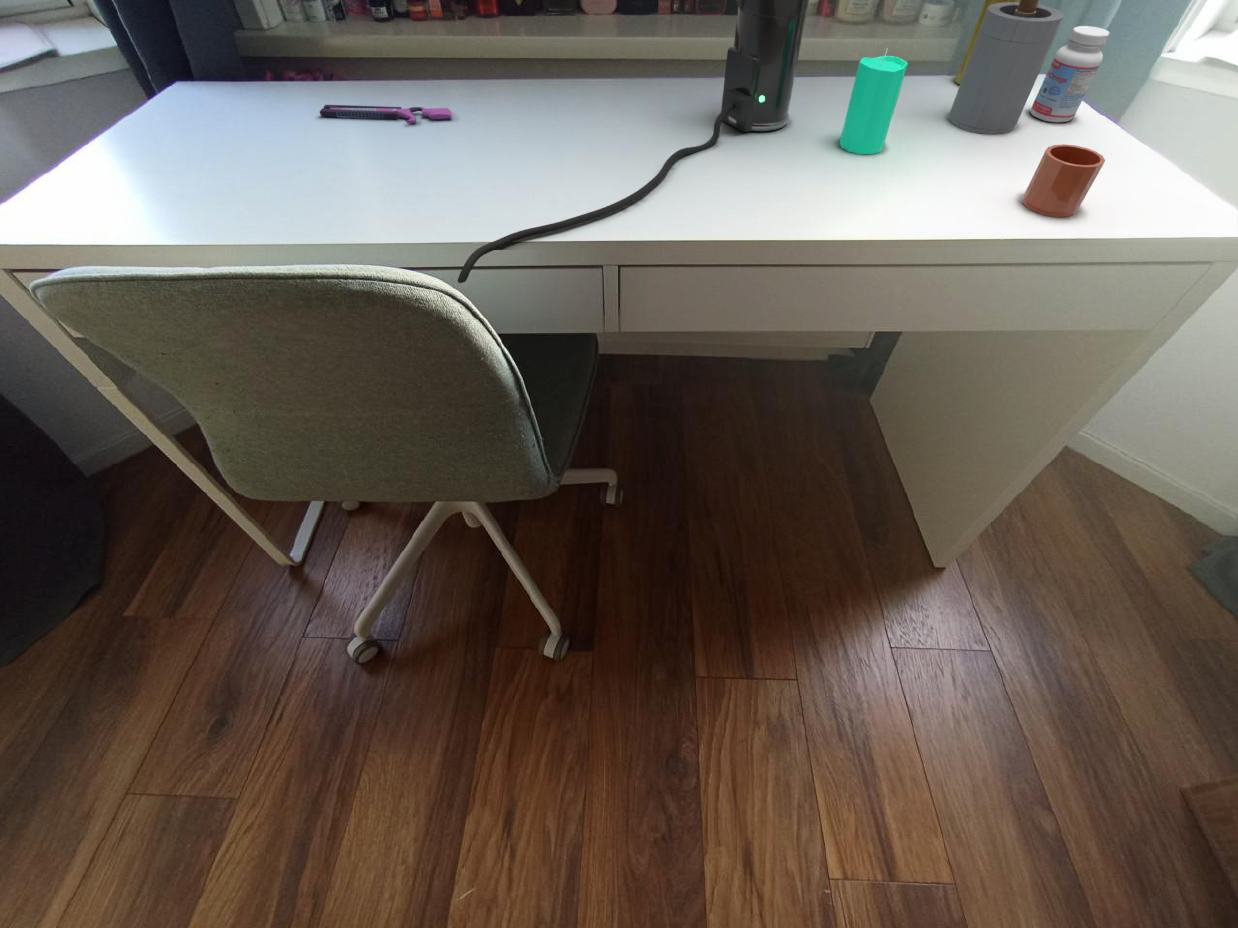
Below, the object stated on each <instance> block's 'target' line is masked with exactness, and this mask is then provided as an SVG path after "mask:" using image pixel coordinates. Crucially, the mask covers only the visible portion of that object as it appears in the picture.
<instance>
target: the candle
mask: <svg viewBox="0 0 1238 928" xmlns="http://www.w3.org/2000/svg"><path fill="white" fill-rule="evenodd" d="M885 49H886V50H885V53H884V55H880V56H876V57H867V56H863V57H862V58H861V59H860V61H859V62H858V66H857V70H856V75H855V78H854V83H853V86H852V91H851V95H850V99H849V103H848V106H847V109H846V110H847V111H846V115H845V119H844V123H843V126H842V131H841V135H840V139H839V145H840V148H841V149H844V150H845V151H847V152H849V153H853V154H858V155H874V154H878V153H880V152H881V151H882V150H883V149H884V145H885V142H886V140H887V136H888V132H889V128H890V125H891V122H892V120H893V119H892V118H893V115H894V112H895V108H896V105H897V102H898V98H899V95H900V92H901V88H902V85H903V81H904V78H905V75H906V72H907V68H908V65H909V62H907V61H906V60H905V59H902V58H900V57H898V56H896V55H895V56H893V55H887V53H888V49H889V48H888V47H887V48H885Z"/></svg>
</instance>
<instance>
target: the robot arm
mask: <svg viewBox="0 0 1238 928" xmlns="http://www.w3.org/2000/svg"><path fill="white" fill-rule="evenodd" d="M809 2H810V0H738V7H737V13H736V14H737V16H736V24H735V33H734V40H733V41H734V42H733V46H729V47H728V48H727V53H726V63H725V71H724V81H723V89H722V98H721V99H722V100H721V108H720V112H719V114H717V115H718V116H717V117H716V119H715V120H714V125H713V133H712V136H711V138H710V139H709V140H708V141H706V142H705V143H702V144H701V145H697V146H689V147H684V148H681V149H678V150H677V151H675V152H674V153H673V154H671V155H670V156H669V157H668V158H667V159H666V160H665V162H664V164H663V165H662V167H661V168H660V170H659V171H658V173H657V174H656V175H655V176H654V177H653V178H652V179H651V180H649V181H648V182H646V184H645V185H643V186H641V188H640V189H638V190H635V192H633V193H631V194H630V195H628V196H626V197H624V198H622V199H620V200H618V201H616V202H614V203H611V204H609V205H606V206H603V207H601V208H599V209H595V210H592V211H589V212H586V213H582V214H580V215H577V216H574V217H573V216H572V217H570V218H567V219H564V220H561V221H557V222H551V223H548V224H544V225H540V226H535V227H530V228H526V229H522V230H519V231H516V232H513V233H511V234H510V233H509V234H507V235H505V236H502V237H500V238H498V239H496V240H493V241H491V242H489V243H486V244H484V245H481V246H479V248H477V249H475V250H474V251H473V252H472V253H471V254H470V255H469V256H468V258H467V259H466V261H465V263H464V265H463V266H462V268H461V270H460V272H459V275H458V278H457V283H458V284H463V283H465V282H466V281H467V280H468V278H469V275H470V273H471V271H472V269H473V268H474V266H475V264H476V263H477V261H478V260H480V259H481V257H483V256H485V255H487V254H489V253H491V252H493V251H496V250H498V249H500V248H502V247H505V246H507V245H509V244H511V243H514V242H517V241H520V240H523V239H527V238H531V237H535V236H539V235H544V234H548V233H552V232H557V231H560V230H564V229H567V228H570V227H574V226H577V225H580V224H583V223H586V222H590V221H593V220H595V219H599V218H601V217H604V216H607V215H609V214H612V213H614V212H616V211H619V210H620V209H623V208H624V207H627V206H628V205H630V204H632V203H634V202H636V201H637V200H639V199H641V197H643V196H645V195H646V194H647V193H648V192H649V191H652V189H653V188H654V187H655V186H656V185H658V184H659V183H660V182H661V181H662V180H663V179H664V177H665V176H666V175H667V173H668V172H669V170H670V168H671V167H672V165H673V164H674V163H675V162H676V161H677V160H678V159H679V158H681V157H684V156H687V155H693V154H697V153H700V152H702V151H706V150H708V149H710V148H712V147H713V146H714V145H715V144H716V142H717V141H718V140H719V137H720V133H721V132H720V131H721V125H722V123H723V122H725V123H727V124H728V125H730V126H732V127H734V128H735V129H737V130H739V131H741V132H743V133H747V132H770V131H775V130H779V129H782V128H783V127H785V126H786V125H787V124H788V121H789V115H790V113H789V111H790V106H791V105H790V104H791V100H792V94H793V88H794V84H795V77H796V72H797V67H798V61H799V56H800V50H801V46H802V40H803V35H804V28H805V22H806V18H807V12H808V7H809Z"/></svg>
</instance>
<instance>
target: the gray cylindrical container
mask: <svg viewBox="0 0 1238 928" xmlns="http://www.w3.org/2000/svg"><path fill="white" fill-rule="evenodd" d="M1018 6H1019V2H1005V3H997V4H992V5H990V6H989V7H988V9H987V11H986V14H985V17H984V20H983V23H982V25H981V28H980V31H979V34H978V36H977V39H976V42H975V45H974V48H973V50H972V53H971V56H970V59H969V61H968V64H967V67H966V70H965V72H964V75H963V78H962V81H961V84H960V85H959V87H958V90H957V92H956V94H955V98H954V101H953V102H952V103H953V104H952V106H951V109H950V112H949V114H948V120H949V122H950V123H951V124H952V125H953V126H955V127H958V128H960V129H962V130H964V131H967V132H972V133H976V134H986V135H1002V134H1007V133H1009V132H1012V131H1014V129H1015V128H1016V125H1017V124H1018V122H1019V119H1020V118H1021V115H1022V113H1023V111H1024V109H1025V106H1026V104H1027V101H1028V99H1029V97H1030V95H1031V92H1032V91H1033V88H1034V86H1035V83H1036V81H1037V78H1038V76H1039V74H1040V72H1041V70H1042V66H1043V65H1044V63H1045V60H1046V58H1047V56H1048V54H1049V52H1050V49H1051V47H1052V45H1053V42H1054V40H1055V38H1056V35H1057V33H1058V31H1059V28H1060V26H1061V24H1062V21H1063V19H1064V17H1065V16H1064V13H1063V12H1062V11H1061V10H1058V9H1055V8H1054V7H1051V6H1046V5H1042V4H1038V5H1037V7H1036V10H1035V11H1036V14H1035V16H1034V18H1025V17H1018V16H1013V14H1014V12H1015V10H1016V9H1017V8H1018Z"/></svg>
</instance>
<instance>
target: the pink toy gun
mask: <svg viewBox="0 0 1238 928" xmlns="http://www.w3.org/2000/svg"><path fill="white" fill-rule="evenodd" d="M416 112H421V113H422V116H423V117H428V118H429V119H430V120H446V119H450V118H451V117H453V112H452V111H451V109H450V108H448V107H437V108H436V107H433V108H426V107H423V106H413V107H409V108H408V107H407V108H402V106H381V105H380V106H379V105H352V104H351V105H349V104H325V105H324V106H323V108H321V109H320V110H319V114H320V116H321V117H342V118H343V117H347V118H372V119H376V118H377V119H378V118H379V119H398V118H399V117H400V118H406V119H407V120H406V123H407V124H414V123H417V120H418V119H417V117H416V116H415V115H414V114H413V113H416Z"/></svg>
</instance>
